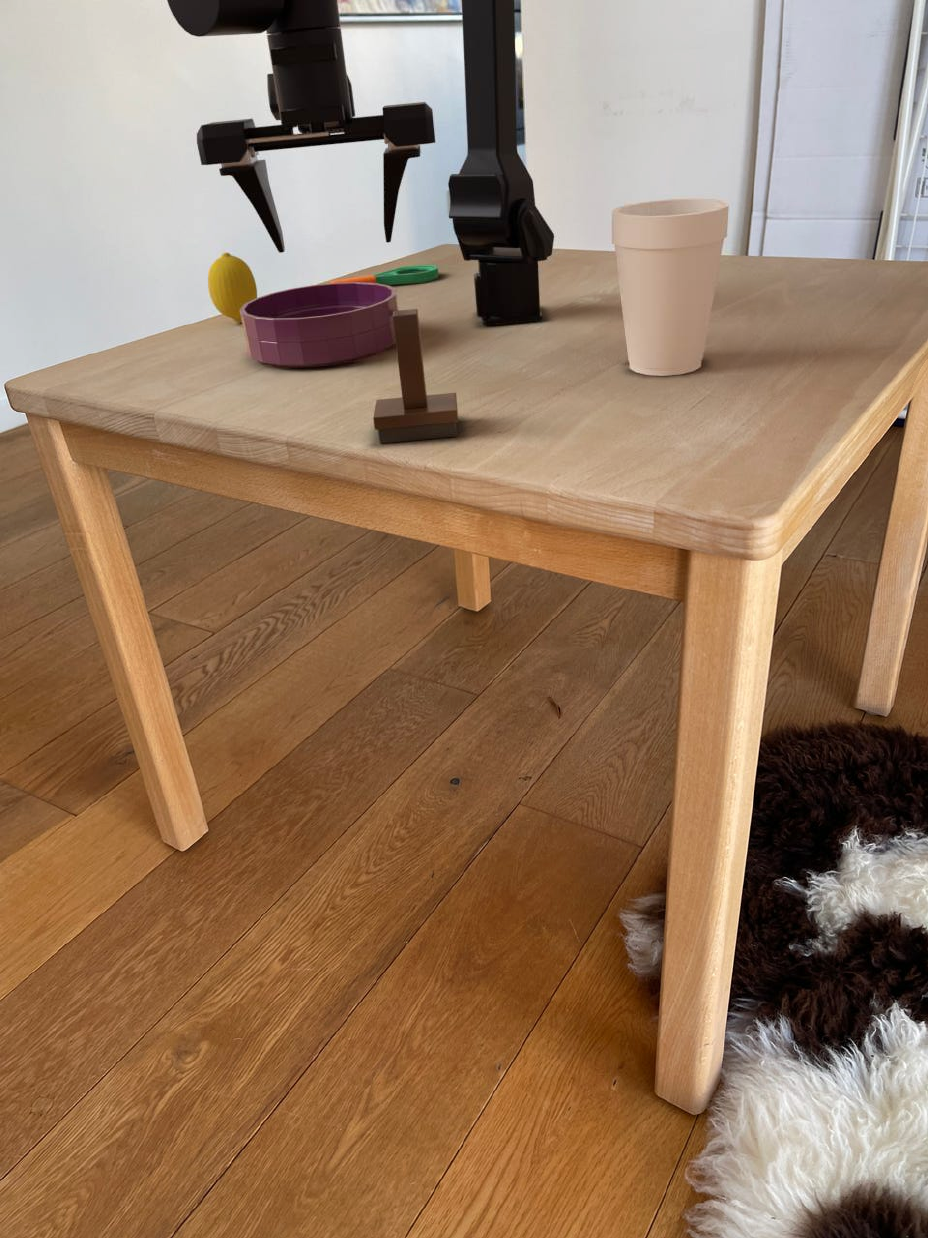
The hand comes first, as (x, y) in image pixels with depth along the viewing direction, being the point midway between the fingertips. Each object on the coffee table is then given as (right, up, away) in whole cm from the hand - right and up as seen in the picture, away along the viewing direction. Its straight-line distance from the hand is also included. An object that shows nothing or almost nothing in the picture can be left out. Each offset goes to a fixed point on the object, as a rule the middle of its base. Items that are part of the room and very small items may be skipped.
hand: (335, 246), depth 79 cm
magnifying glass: (+1, +13, +44) cm, 46 cm away
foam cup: (+29, -9, +3) cm, 31 cm away
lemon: (-16, +4, +32) cm, 36 cm away
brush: (+7, -17, -6) cm, 20 cm away
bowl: (-3, -3, +18) cm, 19 cm away
